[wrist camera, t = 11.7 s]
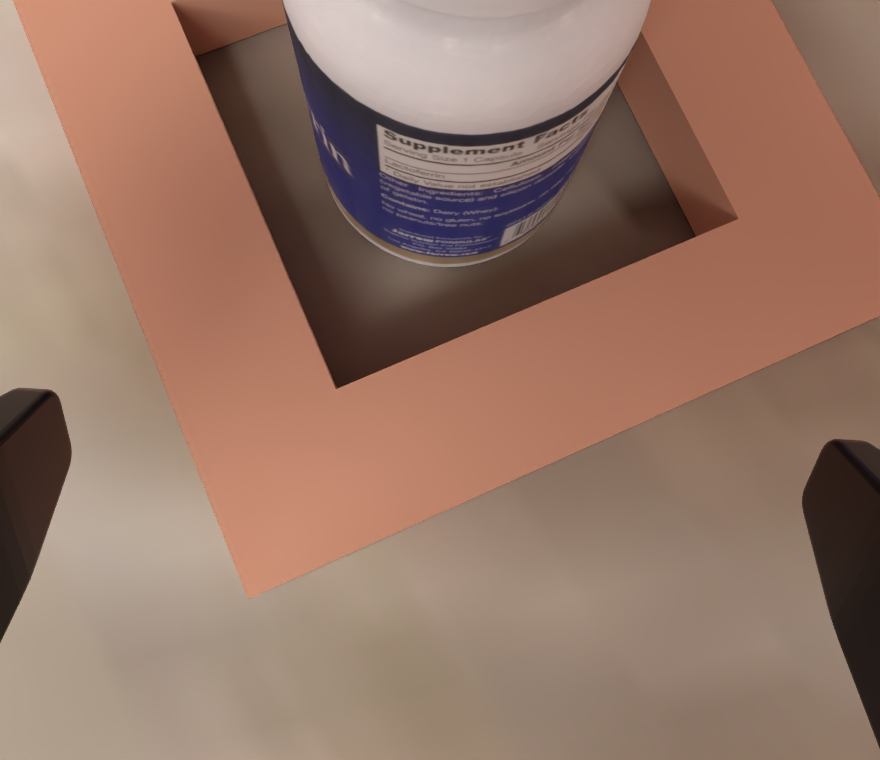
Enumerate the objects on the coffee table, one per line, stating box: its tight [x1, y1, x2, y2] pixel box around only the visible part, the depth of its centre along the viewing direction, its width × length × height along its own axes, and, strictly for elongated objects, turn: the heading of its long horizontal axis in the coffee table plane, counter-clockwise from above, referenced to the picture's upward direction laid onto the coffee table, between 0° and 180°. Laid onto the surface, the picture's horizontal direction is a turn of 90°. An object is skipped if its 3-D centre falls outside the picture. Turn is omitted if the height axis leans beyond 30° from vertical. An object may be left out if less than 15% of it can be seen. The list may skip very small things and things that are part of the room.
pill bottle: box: [282, 0, 651, 267], centre depth 14 cm, size 6×6×10 cm
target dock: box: [13, 0, 880, 599], centre depth 18 cm, size 15×15×2 cm
